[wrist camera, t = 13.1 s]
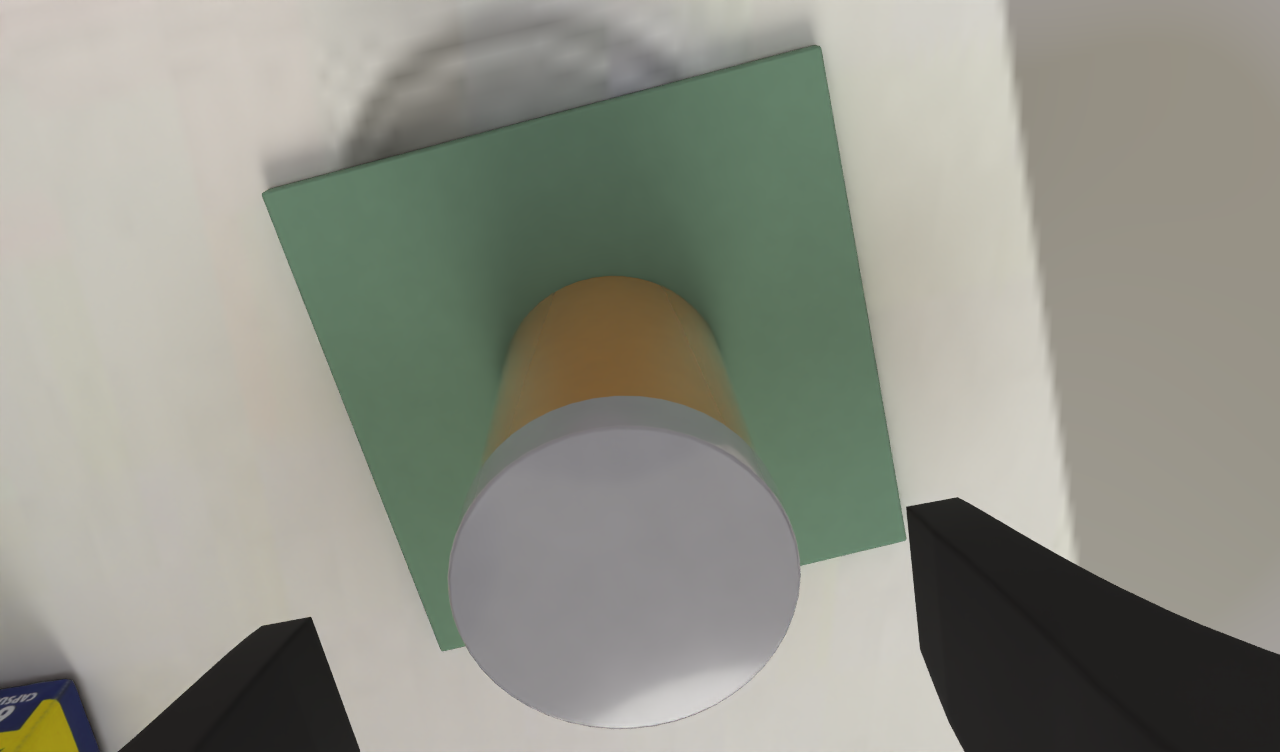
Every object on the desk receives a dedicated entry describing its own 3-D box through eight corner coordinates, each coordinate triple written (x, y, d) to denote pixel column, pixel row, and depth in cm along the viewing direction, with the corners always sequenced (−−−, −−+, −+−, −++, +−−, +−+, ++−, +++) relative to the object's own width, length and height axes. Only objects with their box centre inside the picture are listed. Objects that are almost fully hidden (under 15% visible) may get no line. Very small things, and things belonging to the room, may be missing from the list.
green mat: (443, 641, 21) (441, 652, 21) (267, 189, 18) (259, 193, 17) (901, 531, 21) (907, 541, 20) (816, 44, 17) (821, 44, 17)
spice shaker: (580, 522, 20) (574, 781, 13) (450, 350, 18) (373, 545, 12) (770, 412, 19) (862, 628, 13) (650, 223, 18) (684, 358, 11)
